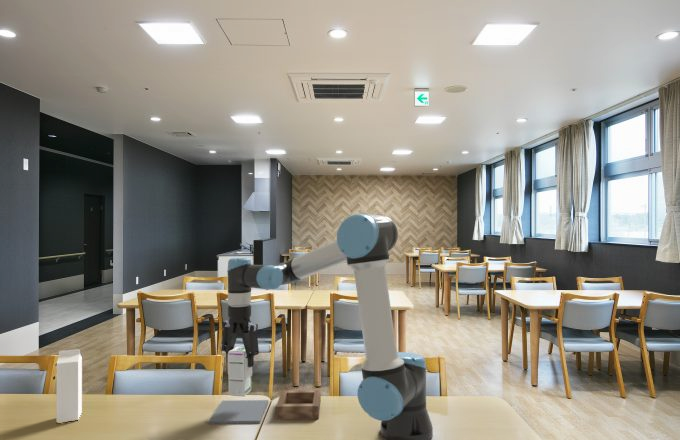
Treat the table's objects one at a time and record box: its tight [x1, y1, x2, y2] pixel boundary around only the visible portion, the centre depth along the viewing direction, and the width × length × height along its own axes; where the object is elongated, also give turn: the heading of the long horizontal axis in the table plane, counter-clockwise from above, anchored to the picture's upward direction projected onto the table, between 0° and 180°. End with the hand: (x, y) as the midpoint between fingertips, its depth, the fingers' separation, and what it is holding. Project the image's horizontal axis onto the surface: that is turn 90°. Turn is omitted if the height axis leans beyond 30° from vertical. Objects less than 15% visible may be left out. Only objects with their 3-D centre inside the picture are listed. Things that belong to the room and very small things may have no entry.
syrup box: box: [227, 346, 253, 397], centre depth 143 cm, size 6×6×14 cm
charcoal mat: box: [208, 399, 269, 425], centre depth 143 cm, size 16×16×1 cm
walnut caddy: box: [275, 389, 322, 420], centre depth 145 cm, size 14×14×4 cm
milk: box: [55, 348, 83, 422], centre depth 140 cm, size 6×6×22 cm
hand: (239, 374), depth 143 cm, fingers closed on syrup box, 7 cm apart
